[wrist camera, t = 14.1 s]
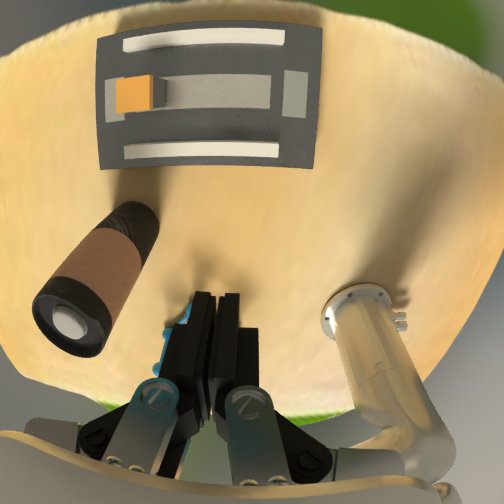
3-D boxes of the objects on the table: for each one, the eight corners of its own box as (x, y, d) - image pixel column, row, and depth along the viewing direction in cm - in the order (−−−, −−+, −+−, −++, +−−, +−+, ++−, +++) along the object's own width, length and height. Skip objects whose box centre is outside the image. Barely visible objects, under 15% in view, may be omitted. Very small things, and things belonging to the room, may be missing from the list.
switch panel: (313, 35, 25) (325, 24, 20) (305, 161, 33) (315, 172, 28) (112, 43, 24) (91, 36, 19) (114, 162, 32) (94, 173, 27)
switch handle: (166, 78, 24) (149, 74, 19) (166, 107, 25) (149, 109, 21) (137, 82, 24) (115, 79, 19) (137, 110, 25) (116, 114, 20)
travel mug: (102, 228, 36) (25, 323, 19) (127, 187, 34) (38, 275, 16) (143, 259, 39) (89, 369, 22) (172, 222, 36) (117, 334, 19)
